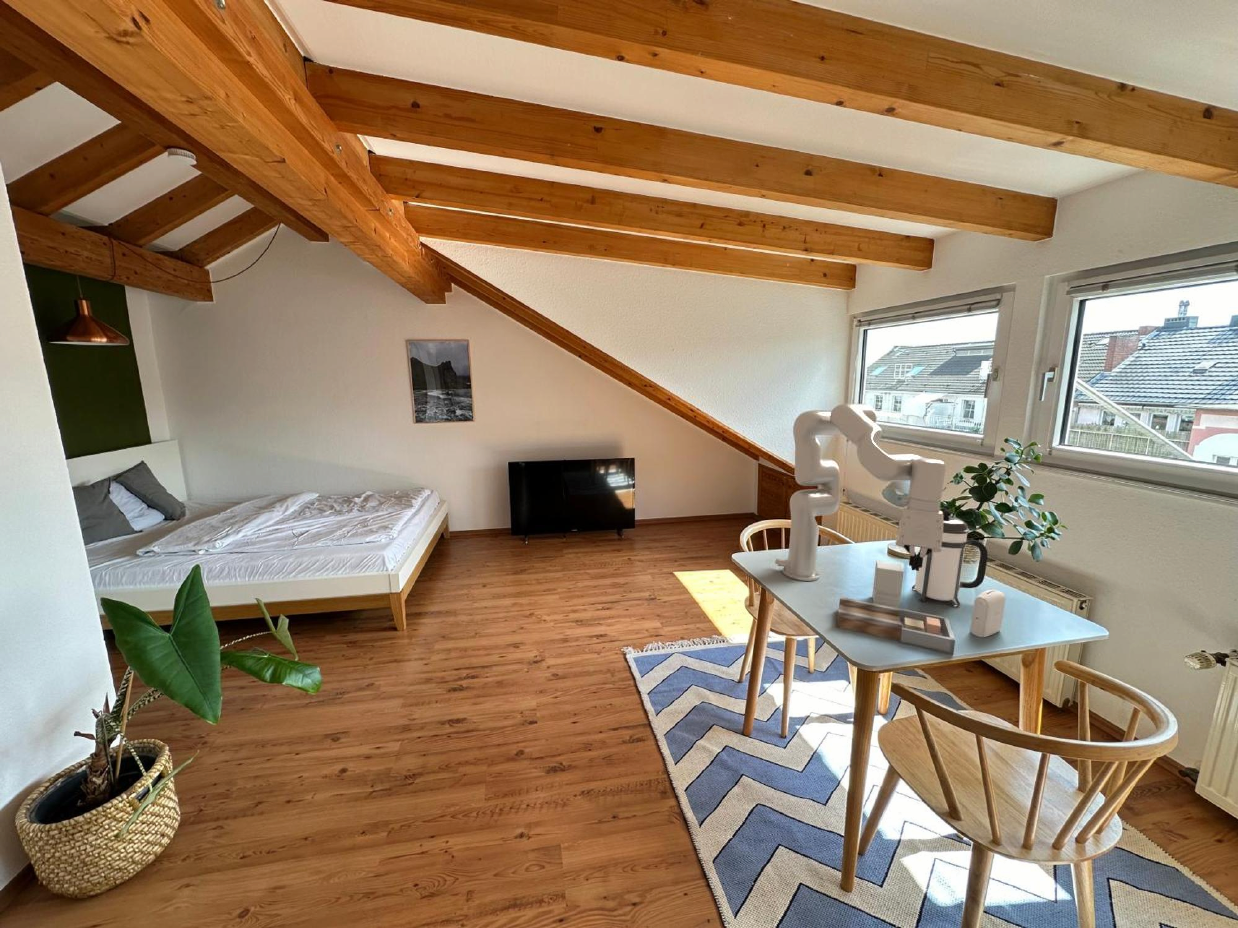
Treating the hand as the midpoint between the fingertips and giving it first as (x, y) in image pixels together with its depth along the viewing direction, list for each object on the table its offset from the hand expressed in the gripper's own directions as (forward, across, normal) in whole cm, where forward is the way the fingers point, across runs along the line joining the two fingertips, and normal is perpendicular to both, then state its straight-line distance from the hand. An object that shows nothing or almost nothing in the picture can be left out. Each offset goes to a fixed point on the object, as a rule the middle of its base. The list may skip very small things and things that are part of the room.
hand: (914, 568), depth 134 cm
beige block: (+18, +2, 0) cm, 18 cm away
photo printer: (+19, +20, +12) cm, 30 cm away
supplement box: (+19, -5, +19) cm, 27 cm away
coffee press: (+19, +11, +32) cm, 39 cm away
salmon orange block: (+16, +4, 0) cm, 17 cm away
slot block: (+19, -10, 0) cm, 21 cm away
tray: (+19, +4, 0) cm, 19 cm away
